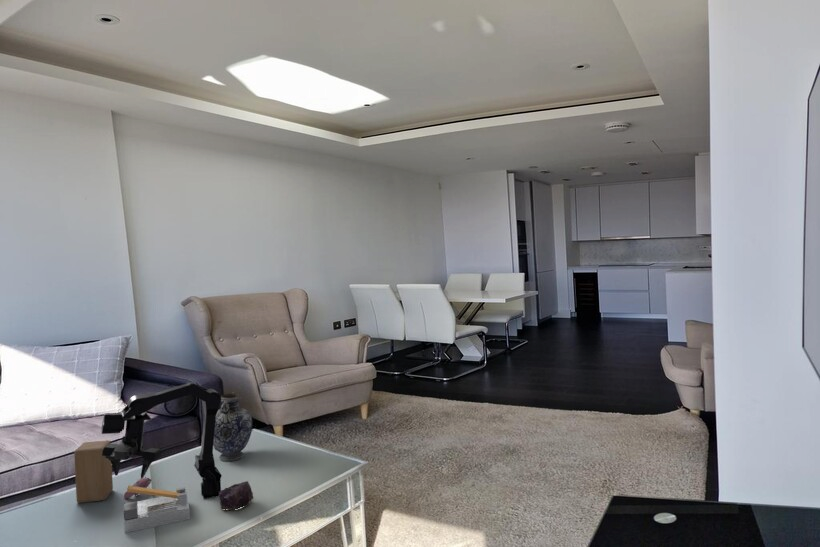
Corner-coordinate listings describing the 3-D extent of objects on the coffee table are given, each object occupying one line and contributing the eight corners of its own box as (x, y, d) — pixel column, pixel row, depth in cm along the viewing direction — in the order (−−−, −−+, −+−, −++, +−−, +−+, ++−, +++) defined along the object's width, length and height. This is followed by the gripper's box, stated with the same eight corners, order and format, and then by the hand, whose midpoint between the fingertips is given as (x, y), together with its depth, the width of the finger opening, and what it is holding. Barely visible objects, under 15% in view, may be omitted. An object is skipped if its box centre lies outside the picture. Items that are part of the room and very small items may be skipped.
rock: (220, 509, 202) (225, 520, 193) (215, 486, 201) (220, 496, 192) (252, 496, 207) (258, 506, 198) (248, 475, 206) (253, 484, 197)
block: (85, 492, 215) (83, 441, 214) (113, 489, 217) (111, 439, 216) (75, 504, 205) (73, 450, 204) (105, 501, 207) (102, 448, 206)
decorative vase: (215, 449, 258) (214, 389, 257) (256, 447, 260) (255, 388, 259) (203, 467, 237) (202, 402, 236) (248, 465, 239) (247, 401, 238)
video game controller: (131, 503, 208) (138, 487, 207) (121, 497, 209) (128, 481, 208) (149, 492, 218) (155, 477, 217) (139, 486, 218) (146, 471, 217)
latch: (137, 509, 191) (137, 501, 190) (137, 517, 185) (137, 508, 185) (124, 512, 189) (124, 503, 189) (124, 520, 183) (123, 510, 183)
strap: (182, 496, 200) (183, 492, 200) (183, 499, 198) (184, 495, 198) (127, 488, 193) (128, 484, 193) (126, 492, 190) (128, 488, 190)
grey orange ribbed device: (187, 502, 204) (186, 485, 204) (189, 519, 192) (189, 500, 191) (125, 514, 196) (125, 496, 196) (124, 532, 183) (123, 513, 183)
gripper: (94, 435, 189) (89, 481, 188) (148, 441, 188) (143, 487, 188) (113, 427, 200) (108, 471, 199) (164, 432, 199) (159, 476, 199)
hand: (129, 476), depth 196 cm, fingers open, 9 cm apart
